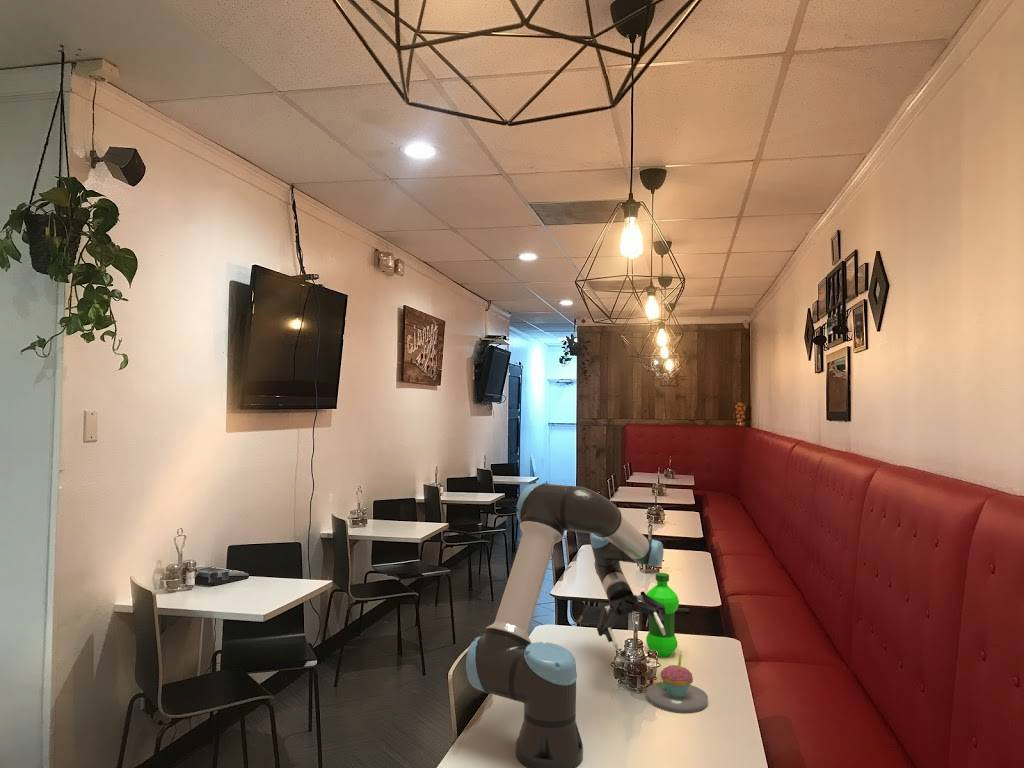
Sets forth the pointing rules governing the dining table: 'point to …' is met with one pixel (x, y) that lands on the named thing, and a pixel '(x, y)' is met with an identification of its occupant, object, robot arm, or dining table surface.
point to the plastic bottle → (670, 601)
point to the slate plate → (677, 699)
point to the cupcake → (677, 679)
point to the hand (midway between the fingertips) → (640, 639)
